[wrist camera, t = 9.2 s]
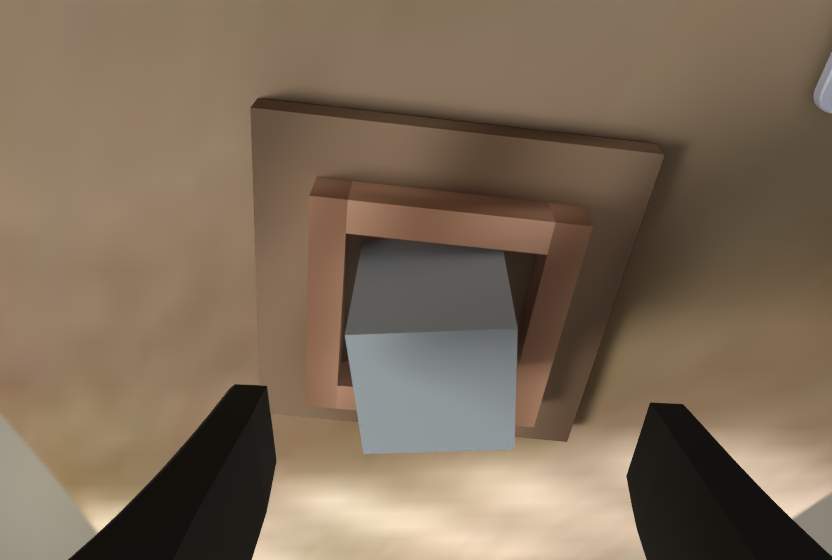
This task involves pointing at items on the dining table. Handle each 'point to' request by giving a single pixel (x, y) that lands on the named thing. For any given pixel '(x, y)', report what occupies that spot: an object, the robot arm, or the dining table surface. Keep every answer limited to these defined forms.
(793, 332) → the dining table surface
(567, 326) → the base plate
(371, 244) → the block
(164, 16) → the dining table surface
